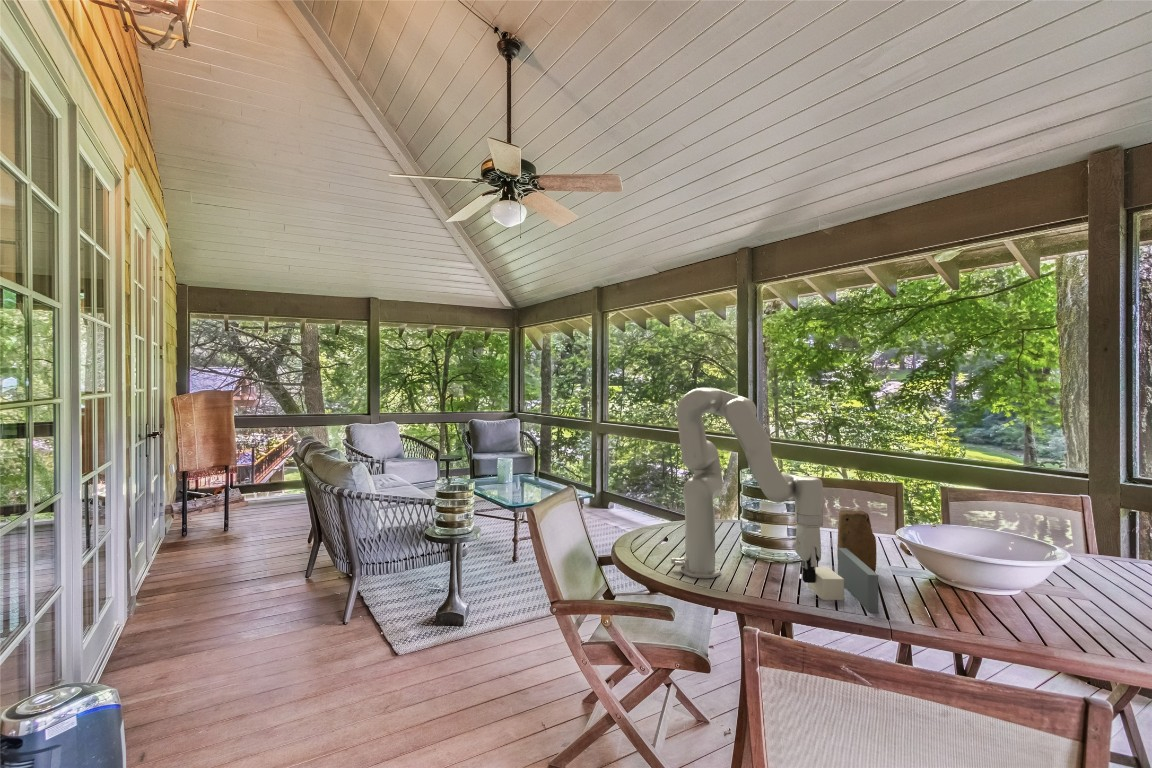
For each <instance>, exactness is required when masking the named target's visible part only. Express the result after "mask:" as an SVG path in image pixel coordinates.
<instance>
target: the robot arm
mask: <svg viewBox="0 0 1152 768" xmlns="http://www.w3.org/2000/svg"><path fill="white" fill-rule="evenodd" d="M757 411H758V410H757V406H756V404H755V402H754V401H753V400H751V399H750V398H747V397H744V396H741V395H738V394H734V393H731V392H728V391H725V390H722V389H719V388H715V387H698V388H694V389H691V390H690V391H688V392H686V393H685V394H684V395H683V396H682V397H681V399H680V400H679V402H678V404H677V407H676V421H677V429H678V436H679V444H680V453H681V460H682V464H683V465H684V466H685V468H686V469H687V470H690V471H691V472H692V471H693V476H690V477H689V478H688V479H687V480H686V482H685V483H684V486H683V489H682V497H683V503H684V504H683V505H684V521H685V522H684V523H685V524H684V525H685V526H684V528H685V529H684V530H685V531H684V535H685V537H684V538H685V539H684V540H685V541H684V542H685V543H684V545H685V550H684V551H685V552H684V553H685V554H683V556H680V557H679V558H678V557H671V559H670V563H671V564H672V565H674V564H675V565H674V566H678V567H680V572H681V573H682V574H683V575H685V576H687V577H691V578H695V579H713V578H716V577H718V576H720V575H721V569H720V568H719V567H718V566H717V565H716V512H715V506H714V505H715V504H714V500H715V499H716V498H718V497H719V496H720V494H721V493H722V492H723V489H724V488H723V487H724V482H723V480H724V479H723V476H722V468H721V460H720V453H719V451H718V448H717V446H716V445H715V444H714V443H713V442H712V441H710V440H708V439H707V435H706V427H705V424H704V421H703V416H704V415H705V414H713V415H716V416H719V417H722V418H724V419H725V421H726V423H727V424H728V426H729V428H730V429H731V430H732V432H733V434H734V436H735V437H736V440H737V441H738V443H739V444H740V446H741V448H742V450H743V453H744V454H745V455H744V456H745V458H746V461H747V463H748V466H749V469H750V472H751V474H752V475H753V478H754V479H755V481H756V483H757V485H758V487H759V488H760V490H761V492H762V493H763V494H764V496H765V497H766V498H767V499H768V500H770V502H772V503H776V504H779V503H780V504H781V503H784V502H786V501H787V500H789V499H791V498H794V524H795V526H796V528H795V546H794V547H795V553H796V555H797V556H798V557H799V558H800V559H801V562H802V569H801V570H802V578H801V579H802V581H803V583H807V584H808V583H815V569H816V567H817V562H820V561H821V559H822V543H821V540H822V539H821V529H820V528H821V527H823V525H824V520H823V519H824V510H823V508H824V507H823V504H824V503H823V502H824V500H823V498H824V495H823V493H824V491H823V489H824V488H823V487H824V485H823V481H822V479H821V478H819V477H816V476H811V475H810V476H806V475H804V476H803V475H802V476H801V475H795V474H790V473H785V472H781V471H780V469H779V467H778V466H777V464H776V462H775V459H774V457H773V452H772V443H771V439H770V437H769V435H768V434H767V432H766V430H765V429H764V427H763V425H762V424H761V422H760V420H759V418H758V417H757V413H758V412H757Z"/></svg>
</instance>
